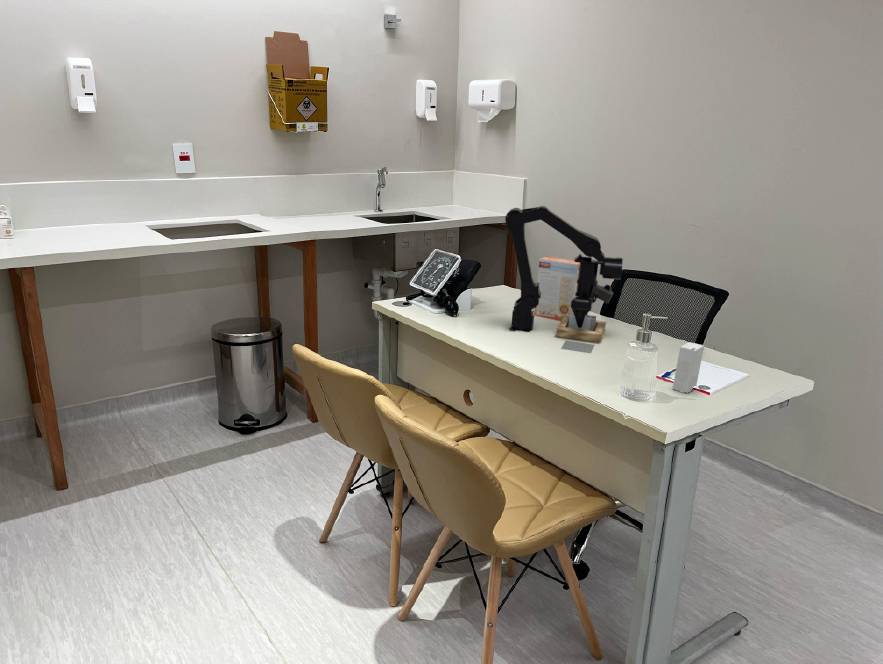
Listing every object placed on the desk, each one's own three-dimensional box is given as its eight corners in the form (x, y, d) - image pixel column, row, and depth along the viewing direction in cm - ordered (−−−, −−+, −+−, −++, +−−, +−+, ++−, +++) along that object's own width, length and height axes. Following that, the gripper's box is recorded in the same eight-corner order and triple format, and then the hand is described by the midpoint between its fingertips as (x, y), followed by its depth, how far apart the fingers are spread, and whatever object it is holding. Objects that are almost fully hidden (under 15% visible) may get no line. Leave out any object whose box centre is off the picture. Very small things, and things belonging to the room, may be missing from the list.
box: (567, 334, 223) (569, 316, 221) (569, 330, 227) (571, 312, 225) (592, 337, 220) (594, 319, 219) (594, 334, 225) (596, 316, 223)
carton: (554, 338, 218) (556, 327, 217) (563, 325, 233) (564, 315, 232) (599, 345, 214) (601, 334, 213) (605, 331, 229) (606, 320, 228)
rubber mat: (560, 349, 208) (560, 348, 208) (565, 341, 216) (565, 340, 216) (590, 354, 205) (591, 353, 205) (594, 346, 214) (594, 344, 213)
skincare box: (680, 384, 185) (687, 341, 182) (697, 388, 183) (704, 345, 179) (671, 389, 181) (678, 345, 177) (688, 394, 178) (695, 350, 175)
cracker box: (577, 320, 241) (584, 261, 234) (570, 324, 236) (577, 264, 229) (540, 313, 248) (546, 255, 241) (533, 316, 243) (539, 257, 236)
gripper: (610, 285, 207) (604, 335, 212) (616, 274, 224) (609, 320, 229) (573, 281, 211) (567, 330, 215) (581, 270, 228) (576, 315, 232)
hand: (581, 324), depth 223 cm, fingers open, 9 cm apart
